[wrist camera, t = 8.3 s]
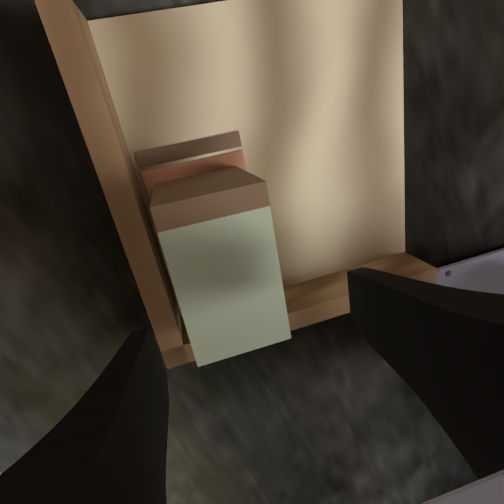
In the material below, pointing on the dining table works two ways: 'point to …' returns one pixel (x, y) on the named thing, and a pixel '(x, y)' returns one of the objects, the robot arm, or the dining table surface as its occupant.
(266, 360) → the dining table surface
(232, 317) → the sage block
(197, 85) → the corner arena
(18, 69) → the dining table surface
